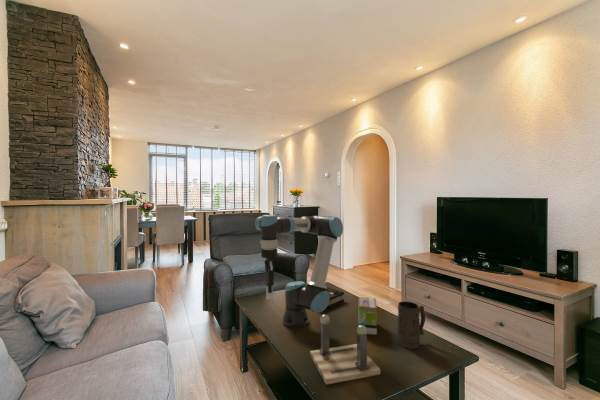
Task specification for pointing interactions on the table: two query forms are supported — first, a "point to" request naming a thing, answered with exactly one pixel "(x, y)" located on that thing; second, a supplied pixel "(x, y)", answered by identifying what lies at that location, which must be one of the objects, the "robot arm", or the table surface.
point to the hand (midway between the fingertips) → (269, 298)
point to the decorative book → (334, 297)
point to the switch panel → (342, 364)
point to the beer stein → (410, 324)
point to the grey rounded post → (361, 348)
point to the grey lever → (324, 335)
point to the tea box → (368, 314)
